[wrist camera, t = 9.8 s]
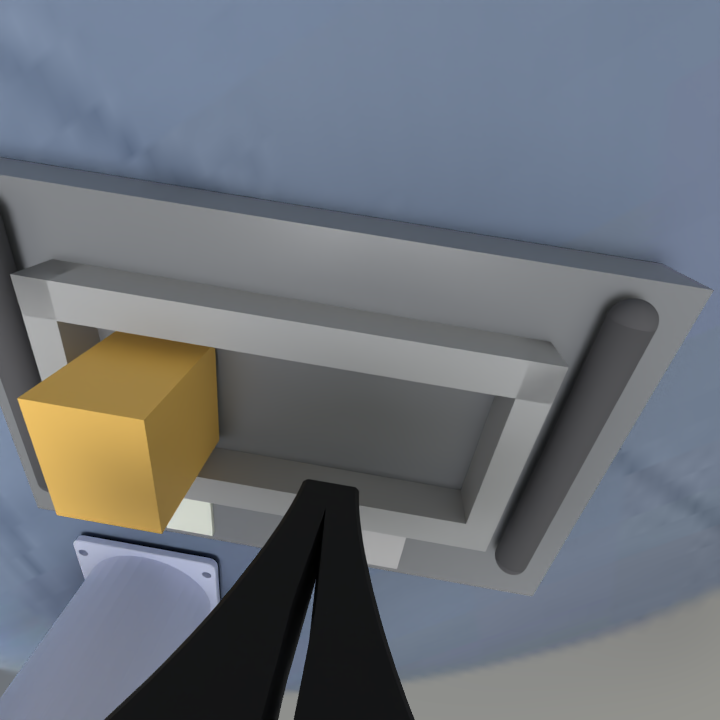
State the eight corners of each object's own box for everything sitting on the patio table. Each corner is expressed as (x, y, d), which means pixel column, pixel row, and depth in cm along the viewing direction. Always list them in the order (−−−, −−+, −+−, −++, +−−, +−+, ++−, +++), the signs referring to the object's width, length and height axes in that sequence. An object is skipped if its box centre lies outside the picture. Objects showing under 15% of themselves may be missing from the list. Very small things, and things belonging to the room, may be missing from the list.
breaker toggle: (219, 439, 15) (161, 534, 11) (138, 425, 15) (56, 514, 11) (214, 342, 13) (143, 420, 9) (122, 327, 13) (17, 398, 9)
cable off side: (518, 555, 17) (525, 584, 16) (488, 550, 17) (493, 578, 16) (653, 295, 11) (678, 312, 10) (608, 288, 11) (629, 305, 10)
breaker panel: (518, 545, 20) (542, 633, 16) (77, 467, 20) (9, 536, 17) (662, 263, 13) (755, 312, 10) (-10, 155, 13) (-156, 163, 10)
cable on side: (84, 479, 17) (63, 502, 16) (56, 473, 17) (33, 496, 16) (5, 190, 11) (-35, 196, 10) (-36, 183, 11) (-81, 188, 10)
